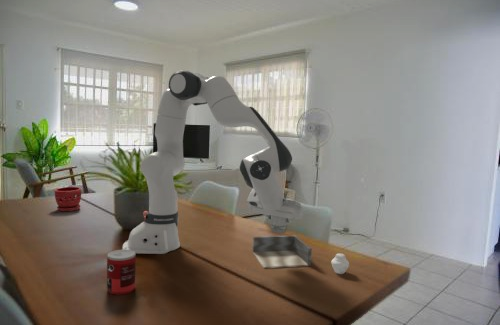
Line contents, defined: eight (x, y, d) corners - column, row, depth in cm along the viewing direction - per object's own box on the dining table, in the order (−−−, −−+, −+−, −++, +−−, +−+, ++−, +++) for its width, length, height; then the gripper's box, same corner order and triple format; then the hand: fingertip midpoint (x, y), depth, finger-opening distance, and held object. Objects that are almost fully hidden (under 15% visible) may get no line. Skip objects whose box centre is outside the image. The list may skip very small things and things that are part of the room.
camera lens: (285, 234, 127) (287, 213, 127) (268, 232, 129) (270, 211, 128) (287, 230, 134) (288, 210, 133) (271, 228, 135) (272, 208, 134)
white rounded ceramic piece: (329, 268, 127) (330, 249, 126) (346, 269, 127) (347, 250, 126) (332, 275, 121) (333, 256, 120) (350, 276, 121) (351, 256, 120)
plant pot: (65, 206, 202) (65, 185, 201) (86, 208, 200) (86, 187, 199) (49, 211, 189) (48, 189, 188) (71, 213, 187) (71, 191, 186)
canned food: (111, 283, 107) (111, 248, 106) (137, 283, 108) (138, 249, 107) (103, 295, 100) (103, 258, 99) (131, 295, 100) (132, 258, 99)
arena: (263, 268, 124) (264, 250, 123) (252, 252, 139) (253, 236, 139) (310, 265, 128) (311, 248, 128) (294, 250, 144) (295, 235, 143)
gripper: (302, 194, 119) (308, 216, 129) (248, 187, 128) (258, 208, 137) (297, 209, 115) (304, 231, 125) (242, 201, 124) (252, 222, 134)
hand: (279, 219), depth 131 cm, fingers closed on camera lens, 6 cm apart
